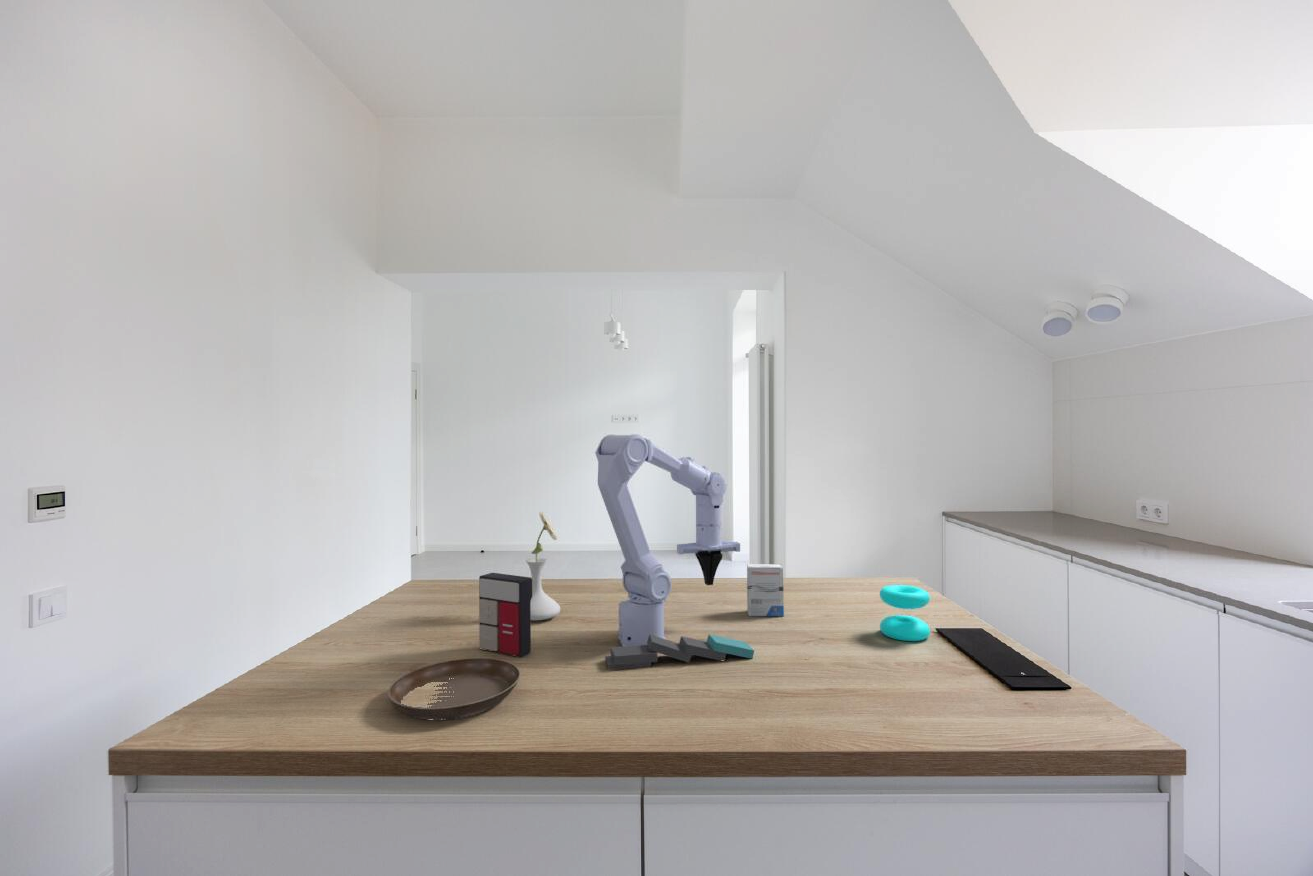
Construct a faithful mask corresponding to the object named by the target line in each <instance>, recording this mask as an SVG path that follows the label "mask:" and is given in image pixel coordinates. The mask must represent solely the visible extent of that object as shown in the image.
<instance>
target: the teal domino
mask: <svg viewBox="0 0 1313 876" xmlns="http://www.w3.org/2000/svg"><path fill="white" fill-rule="evenodd" d="M706 642H707V643H708V644H709V645H710V647H711V648H712V649H713V650H714V651H718V652H723V653H726V654H729V655H734V656H736V657H742V658H747V659H753V658H754V653H755V649H754V648H753V647H751V646H750V644H748V643H747V642H745V641H742V640H739V639H732V638H729V637H723V636H720V635H719V636H718V635H714V634H710V633H709V634H708V635H707V638H706Z"/></svg>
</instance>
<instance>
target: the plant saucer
mask: <svg viewBox="0 0 1313 876" xmlns="http://www.w3.org/2000/svg"><path fill="white" fill-rule="evenodd" d="M520 677H521V671H520V668H519V667H518V666H516V664H513V663H511V662H510V661H506V660H502V659H496V658H485V657H483V658H482V657H480V658H479V657H478V658H477V657H473V658H472V657H471V658H460V659H453V660H452V659H451V660H446V661H441V662H436V663H433V664H429V665H426V666H424V667H420V668H418V669H415V670H412V671H411V672H408V673H407V674H404V675H402V676H400V678H398V679H396V680H395V681H394V682H393V683H392V684H391V685H390V686H389V689H388V692H387V696H388V697H389V698H388V699H390V701H391V702H392V705H394V706H395V707H396V708H397V709H399V711H401V712H403V713H404V714H406V715H407V714H408V716H409V715H410V716H409V717H412V716H413V717H412V718H414V717H416V718H415V719H418V718H420V719H419V720H423V719H433V720H432V721H434V720H440V721H445V720H444V719H453V720H456V719H455V718H459V719H462V718H461V717H464V718H467V717H466V716H469V717H471V716H470V715H472V716H474V715H473V714H476V715H479V714H481V713H483V711H484V712H487V711H488V710H490V709H492V708H494V707H496V706H497V705H499V704H500V703H502V701H504V700H505V699H506V698H507V697H508V696H510V693H512V691H513V690H514V689H515V687H516V686H517V684H518V682H519V680H520ZM449 678H450V680H449ZM451 678H452V679H451ZM453 678H454V679H453ZM431 682H448V683H446V684H445V683H443V684H442V685H440V684H439V686H438V685H437V686H436V687H442V689H438V690H435V691H443V693H439V694H437V696H450V697H442V698H441V697H438V698H437V699H434V698H433V699H434V700H442V701H441V702H440V701H437V702H436V703H435V702H434V703H430V704H429V703H428V704H427V705H432V706H431V707H430V706H429V708H428V707H427V708H422V707H412V706H407V705H404V704H401V700H403V697H404V696H406V695H407V694H408V693H409V692H410V691H413V690H414V689H415V688H417V687H422V686H424V685H425V684H427V683H431ZM434 687H435V686H434ZM443 687H447V689H446V688H445V689H443ZM450 687H451V688H450ZM444 691H447V693H446V692H445V693H444ZM449 691H450V693H449ZM453 691H454V693H453ZM430 696H431V695H430ZM432 696H436V694H435V695H432ZM451 696H452V697H451ZM453 696H454V697H453ZM433 699H432V700H433ZM430 700H431V699H430ZM445 700H446V701H445ZM433 705H434V706H433ZM480 712H481V713H480ZM478 713H479V714H478ZM441 719H443V720H441Z"/></svg>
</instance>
